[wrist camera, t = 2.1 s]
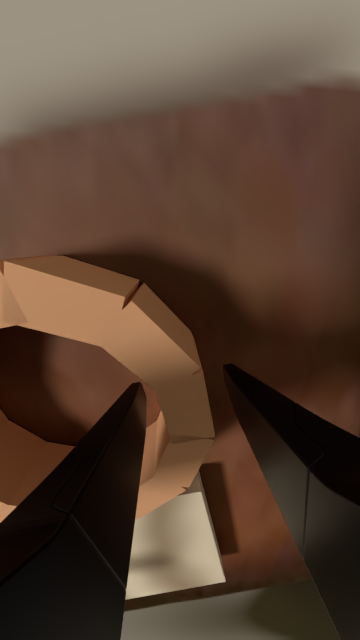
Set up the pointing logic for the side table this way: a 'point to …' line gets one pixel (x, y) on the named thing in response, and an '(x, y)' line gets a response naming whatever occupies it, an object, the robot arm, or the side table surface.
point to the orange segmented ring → (124, 345)
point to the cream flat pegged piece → (175, 546)
